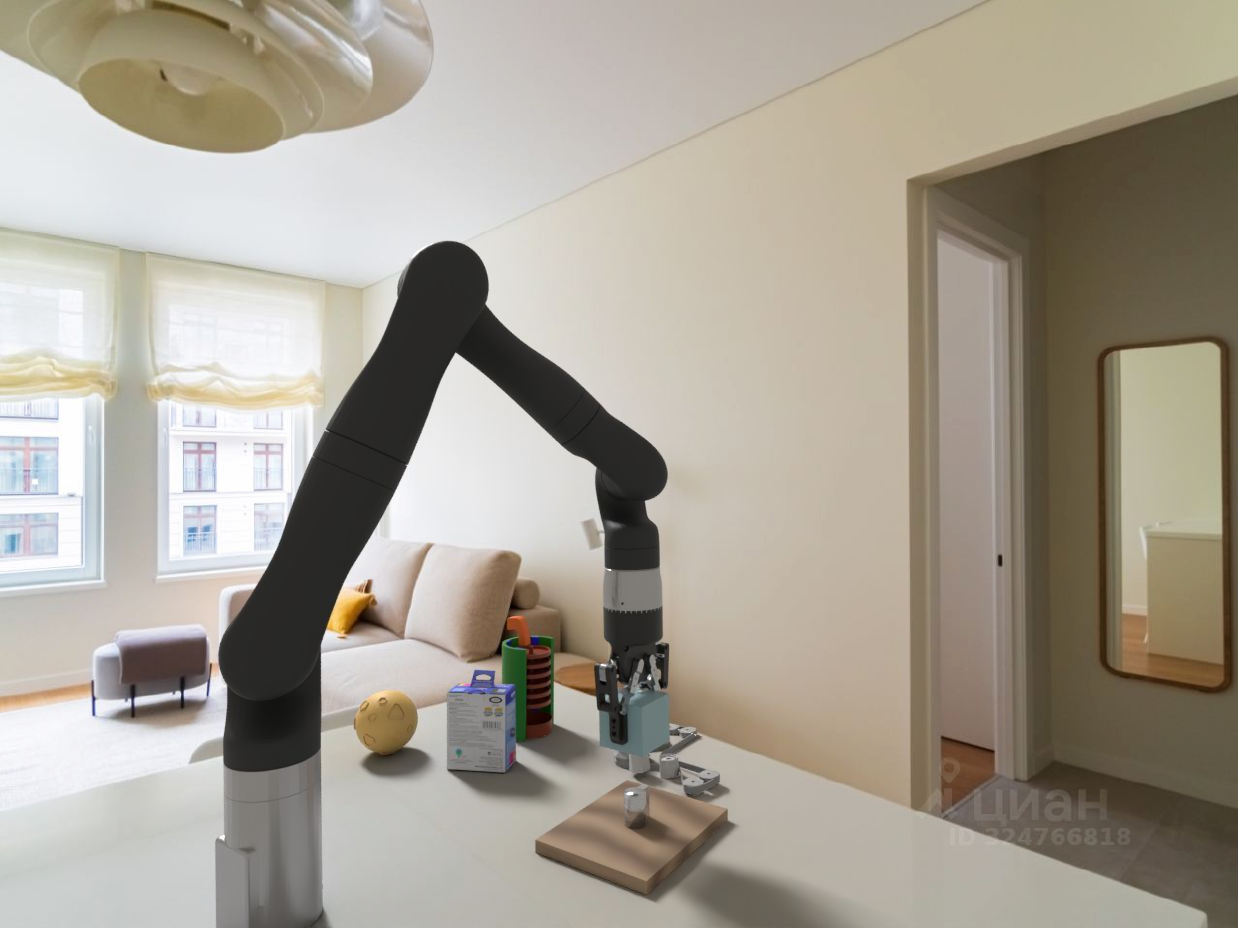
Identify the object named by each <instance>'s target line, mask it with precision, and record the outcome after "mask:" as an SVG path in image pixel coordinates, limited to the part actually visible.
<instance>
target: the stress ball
mask: <svg viewBox="0 0 1238 928" xmlns="http://www.w3.org/2000/svg"><path fill="white" fill-rule="evenodd" d="M418 715H419V714H418V709H417V707H416V705H415V703H414V702H413V700H412V699H411V698H410V697H409V696H408V695H407V694H405V693H403V692H401V691H398V690H396V689H395V690H393V689H385V690H380V691H378V692H376V693H373V694H371V695H370V696H369V697H367V698H366V699H365V700H364V701H363V702H362V703H361V704H360V706H359V709H358V711H356V713H355V715H354V718H353V730H354V731H355V732H356V736H357V738H358V740H359V742H360V743H361V744H362V745H363V746H364V748H366V749H368V750H369V751H371V752H374V753H378V754H379V755H380V756H387V755H388V756H389V755H392V754H394V753H396V752H397V751H398V750H400V749H402V748H403V747H405V746H406V745H407V744H408V743H409V742H410V741H411V739H412V738H413V737H414V735H415V733H416V731H417V727H418V723H419V716H418Z"/></svg>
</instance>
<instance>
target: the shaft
mask: <svg viewBox="0 0 1238 928" xmlns="http://www.w3.org/2000/svg"><path fill="white" fill-rule="evenodd" d="M640 784H641V785H640V786H639V787H631V788H628V789H626V790H625V791H624V825H625V826H626V827H628V828H630V829H641V828H643V827H645V826H646V819H647V818H648V817H649V816H650V804H649V786H650V785H649V784H645V783H640Z"/></svg>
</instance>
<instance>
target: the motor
mask: <svg viewBox="0 0 1238 928" xmlns="http://www.w3.org/2000/svg"><path fill="white" fill-rule="evenodd" d="M506 630H507V631H509V630H510V631H512V630H513V631H514V630H515V631H516V632H517V635H518V636H515V637H511V638H508V639H505V640H503V641H502V642H501V643H502V644H501V684H513V685H515V694H516V742H517V741H518V742H526V741H527V740H528V739H529V740H530V739H531V740H533V739H541V738H544V737H546V736H548V735H550V734H551V733H552V732H553V724H554V722H555V721H554V715H555V713H554V712H555V711H554V709H555V707H554V706H555V704H554V703H555V695H554V694H555V688H554V687H555V638H554V637H552V636H545V635H544V636H543V635H531V634H530V631H529V630H530V629H529V625H528V622H527V620H526V617H524V616H522V615H513V616H510V617H507V620H506Z"/></svg>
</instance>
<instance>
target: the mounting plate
mask: <svg viewBox="0 0 1238 928" xmlns="http://www.w3.org/2000/svg"><path fill="white" fill-rule="evenodd" d="M641 784H642V783H639V782H636V781H633V780H632V781H631V780H629V779H626V780H625V781H623V782H622V783H620V784H618V785H617V786H615V787H614V788H612V789H611V790H609V791H608V792H607V793H605V794H603V795H602V796H600V797H598V798H597V799H595V800H594V801H593V802H591V803H589V804H587V805H586V806H585V807H584V808H581V809H580V810H578V811H577V812H576V813H574V814H573V815H571V816H569V817H567V818H566V819H565V820H563V821H561V822H560V823H559V824H557V825H555V826H554V827H553V828H551V829H549V830H548V831H546V832H545V833H543V834H542V835H540V836H539V837H538V838H535V841H534V844H535V847H534V848H535V853H537V854H538V855H539V854H540V855H542V856H544V857H548V858H550V859H552V860H555V861H558V862H560V863H563V864H566V865H569V866H570V867H573V868H576V869H579V870H581V871H584V872H586V873H589V874H591V875H593V876H597V877H599V878H600V879H601V878H602V879H604V880H607V881H609V882H612V883H615V884H617V885H620V886H623V887H625V888H628V889H630V890H633V891H635V892H638V893H641V894H643V895H646V896H648V894H650V893H651V892H652V891H653V890H654V889H655V888H656V887H657V886H658V885H659V884H660V883H661V882H662V881H664V880H665V879H666V878H667V877H668V876H669V875H670V874H671V873H672V872H674V870H676V868H677V867H679V866H680V865H681V864H682V863H683V862H684V861H686V859H687V858H689V857H690V855H692V854H693V853H694V852H695V851H696V850H698V848H699V847H701V845H703V843H705V842H706V841H707V840H708V839H709V838H710V837H712V835H714V834H715V833H716V832H717V831H718V830H719V829H720V828H721V827H723V825H724V824H725V823H727V822H728V820H729V817H728V816H729V813H728V811H729V809H728V808H727V807H723V806H720V805H716V804H712V803H708V802H705V801H702V800H699V799H696V798H695V799H694V798H691V797H687V796H684V795H681V794H678V793H674V792H671V791H666V790H664V789H660V788H656V787H653V786H651V785H649V804H650V816H649V817H648V818H647V819H646V826H645V827H643V828H641V829H630V828H628V827H626V826H625V825H624V791H625V790H626V789H628V788H631V787H639V786H640V785H641Z"/></svg>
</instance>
